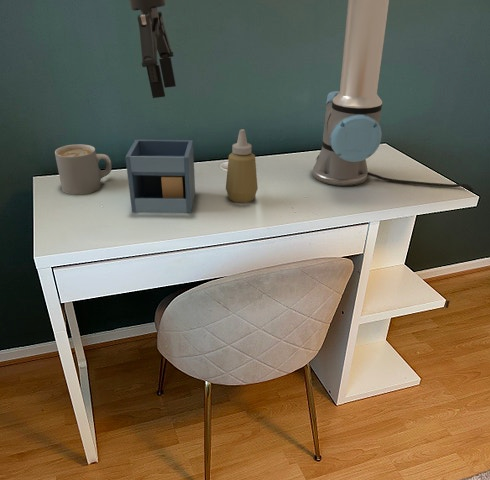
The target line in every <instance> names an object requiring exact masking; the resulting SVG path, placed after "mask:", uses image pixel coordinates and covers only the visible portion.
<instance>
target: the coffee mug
mask: <svg viewBox="0 0 490 480" xmlns="http://www.w3.org/2000/svg"><path fill="white" fill-rule="evenodd" d="M54 155H55V160H56V161H55V162H56V165H57V166H56V167H57V171H58V177H59V181H60V186H61V190H62V192H63V193H65V194H67V195H68V194H69V195H77V196H78V195H88V194H91V193H95V192H96V191H98V190H99V189H101V187H102V186H101V185H102V184H101V180H102V179H103V178H105V177H107V176H108V175H109V174H110V173H111V172H112V161H111V158H110V157H109V155H107V154H104V153H97V151H96V148H95V147H94V146H93V145H89V144H83V143H82V144H80V143H79V144H78V143H77V144H68V145H63V146H61V147H58V148H57V149H55V150H54ZM101 160H103V161H104V162H105V164H106V166H105V167H106V168H105V169H104V170H101V169H100V166H99V162H100V161H101Z"/></svg>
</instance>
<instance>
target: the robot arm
mask: <svg viewBox="0 0 490 480" xmlns="http://www.w3.org/2000/svg"><path fill="white" fill-rule="evenodd" d="M389 3H390V0H347V9H346V19H345V31H344V39H343V40H344V42H343V51H342V63H341V74H340V82H339V83H340V85H339V90H333V91H330V92H329V93H328V94H327V97H326V102H325V115H324V124H323V134H322V143H321V149H320V152H319V154H318V155H317V156H316V159H315V164H314V166H313V169H312V176H313V178H314V179H316V180H317V181H319V182H321V183H323V184H326V185H331V186H339V187H352V186H358V185H361V184H364V183H365V182H366V181H367V179H368V176H369V177H373V178H376V179H379V180H382V181H385V182H391V183H396V184H409V185H418V186H419V185H420V186H430V187H441V188H442V187H443V188H444V187H445V188H463V187H464V188H467V189H468V190H469V191H472V192H473V191H474V190H475V189H474V188H473V187H472V186H471V185H470V184H467V183H453V184H452V183H442V182H441V183H440V182H426V181H415V180H405V179H404V180H403V179H395V178H389V177H385V176H381V175H379V174H375V173H372V172H369V170H368V165H367V159H368V158H370V157H372V155H374V154H375V153H376V151H377V150H378V149H379V147H380V145H381V143H382V135H383V134H382V128H381V125H380V122H381V115H382V109H383V100H382V99H381V98H380V96H379V94H378V87H379V81H380V80H379V79H380V73H381V72H380V71H381V64H382V57H383V50H384V43H385V35H386V26H387V19H388V12H389ZM129 5H130V9H131V10H132V11H133V12H134V11H140V14H137V18H136V19H137V23H138V29H139V38H140V48H141V49H140V50H141V59H142V60H141V66H142V68H146V72H147V76H148V82H149V87H150V91H151V97H152V99H158V98H165V97H166V94H165V88H173V87H177V85H176V79H175V74H174V69H173V64H172V58H173V57H174V56H175V55H174V52H173V51H172V48H171V45H170V40H169V37H168V33H167V31H166V27H165V23H164V19H163V13H162V11H158V8H163V7H165V6H166V0H129ZM158 55H159V56H158ZM158 57H159V59H158ZM158 60H159V61H158ZM158 62H159V63H158ZM450 301H451V300H446V303H445V308H446V309H448V308H449V305H450Z"/></svg>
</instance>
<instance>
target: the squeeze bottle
mask: <svg viewBox="0 0 490 480" xmlns="http://www.w3.org/2000/svg"><path fill="white" fill-rule="evenodd" d="M247 139H248V138H247V135H246V130H245V129H239V131H238V135H237V142H236V143H235V142H234V143H233V144H232V150H231V151H232V152H231V153H230V154H229V155H228V158H227V159H228V161H227V172H226V182H225V190H226V193H227V196H228V199H229V200H230V201H232V202H233V203H240V204H244V203H245V204H246V203H250V202H252V201H254V200H255V196H256V194H257V191H258V178H257V177H258V175H257V163H256V161H257V160H256V155H255V154H254V153H253V152H252V151H253V150H252V148H253V147H252V144H251V143H249V142H248V140H247Z"/></svg>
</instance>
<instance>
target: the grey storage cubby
mask: <svg viewBox="0 0 490 480" xmlns="http://www.w3.org/2000/svg"><path fill="white" fill-rule="evenodd" d="M194 157H195V156H194V140H193V139H134V141H133V143H132V145H131V146H130V148H129V150H128V152H127V153H126V155H125V165H126V173H127V182H128V189H129V198H130V207H131V213H141V214H142V213H146V214H147V213H151V214H153V213H154V214H192V211H193V206H194V201H195V197H196V181H195V180H196V178H195V158H194ZM161 176H185V190H186V198H163V194H162V182H161Z"/></svg>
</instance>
